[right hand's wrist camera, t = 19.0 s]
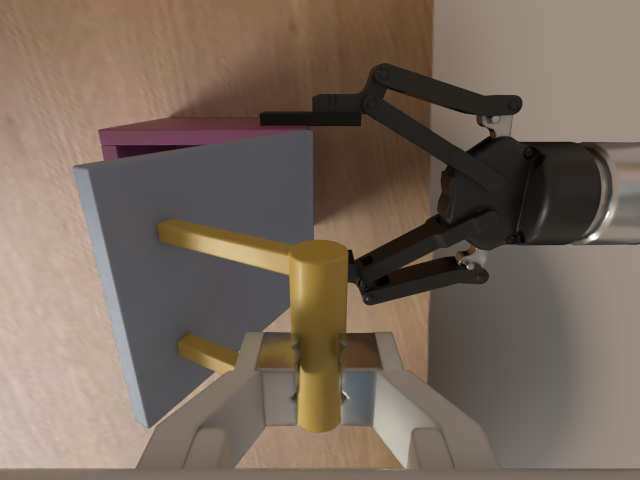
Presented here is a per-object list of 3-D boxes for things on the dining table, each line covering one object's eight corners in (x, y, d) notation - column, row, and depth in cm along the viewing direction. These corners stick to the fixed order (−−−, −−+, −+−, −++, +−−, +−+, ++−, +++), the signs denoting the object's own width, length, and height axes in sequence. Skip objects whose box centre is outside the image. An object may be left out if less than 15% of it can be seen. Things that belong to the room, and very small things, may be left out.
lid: (134, 421, 14) (307, 526, 11) (70, 165, 11) (301, 201, 7) (303, 283, 25) (420, 314, 21) (300, 129, 21) (440, 137, 18)
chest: (182, 228, 35) (130, 283, 25) (166, 117, 31) (97, 129, 21) (309, 227, 35) (309, 281, 25) (308, 117, 32) (307, 129, 21)
